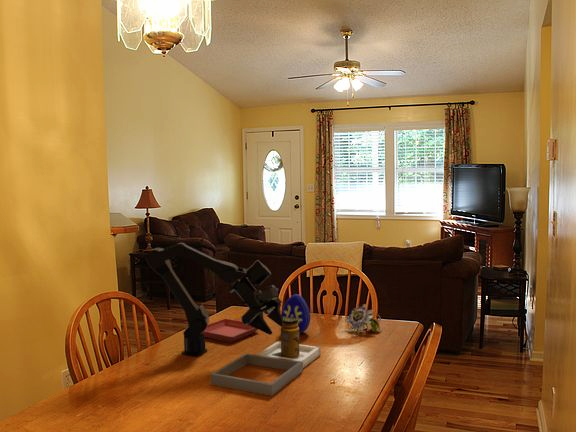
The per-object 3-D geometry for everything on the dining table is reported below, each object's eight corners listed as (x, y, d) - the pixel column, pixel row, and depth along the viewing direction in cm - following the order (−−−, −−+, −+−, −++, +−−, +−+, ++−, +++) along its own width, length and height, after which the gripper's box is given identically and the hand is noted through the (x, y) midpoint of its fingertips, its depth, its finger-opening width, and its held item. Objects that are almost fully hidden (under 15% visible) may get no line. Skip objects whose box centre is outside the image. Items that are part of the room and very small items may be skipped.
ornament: (278, 334, 197) (277, 295, 196) (287, 328, 206) (287, 290, 205) (305, 337, 193) (305, 297, 192) (314, 331, 201) (313, 292, 200)
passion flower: (356, 345, 200) (338, 319, 202) (368, 333, 208) (351, 308, 210) (377, 334, 193) (358, 307, 195) (389, 322, 202) (370, 296, 204)
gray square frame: (210, 384, 150) (210, 374, 149) (246, 362, 167) (245, 353, 167) (272, 396, 141) (271, 385, 141) (302, 371, 159) (302, 361, 158)
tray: (256, 362, 167) (256, 354, 167) (277, 348, 181) (277, 341, 181) (301, 369, 160) (301, 361, 160) (320, 354, 174) (320, 347, 174)
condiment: (304, 356, 170) (304, 319, 169) (282, 361, 165) (282, 324, 164) (292, 350, 176) (291, 315, 175) (270, 355, 171) (270, 319, 170)
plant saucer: (261, 332, 201) (261, 324, 201) (232, 345, 186) (232, 336, 186) (225, 326, 211) (225, 318, 211) (194, 337, 196) (194, 329, 196)
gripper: (249, 283, 165) (280, 322, 160) (276, 274, 181) (305, 308, 177) (228, 305, 169) (258, 343, 164) (257, 294, 185) (284, 328, 181)
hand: (277, 330), depth 172 cm, fingers open, 9 cm apart
